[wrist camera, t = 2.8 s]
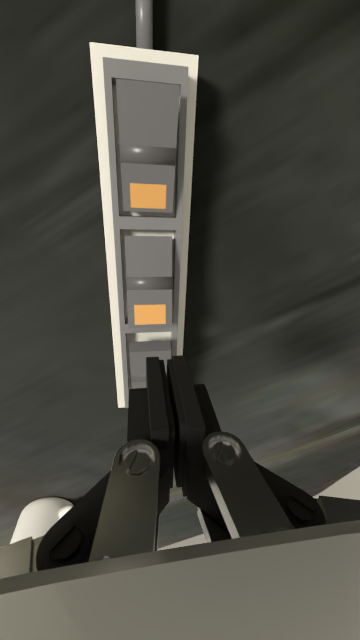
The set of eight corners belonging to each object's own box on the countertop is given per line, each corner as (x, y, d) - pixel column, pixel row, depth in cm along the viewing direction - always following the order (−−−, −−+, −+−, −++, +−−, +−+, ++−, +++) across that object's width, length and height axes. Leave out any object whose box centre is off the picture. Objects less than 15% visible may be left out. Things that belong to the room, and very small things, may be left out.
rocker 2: (169, 237, 25) (172, 236, 23) (170, 322, 26) (172, 327, 25) (125, 237, 24) (124, 235, 22) (128, 324, 26) (128, 328, 24)
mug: (103, 497, 45) (94, 581, 35) (55, 532, 47) (34, 620, 37) (60, 476, 41) (37, 564, 31) (9, 515, 43) (-26, 608, 34)
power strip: (194, -17, 20) (208, -65, 16) (176, 387, 37) (181, 410, 33) (88, -34, 19) (76, -90, 15) (119, 391, 35) (117, 415, 32)
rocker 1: (176, 85, 18) (180, 85, 17) (170, 206, 24) (172, 213, 22) (116, 79, 18) (115, 78, 16) (123, 204, 23) (123, 211, 22)
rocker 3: (169, 338, 27) (171, 351, 26) (166, 387, 32) (167, 400, 31) (129, 340, 27) (129, 353, 25) (132, 389, 32) (132, 402, 30)
